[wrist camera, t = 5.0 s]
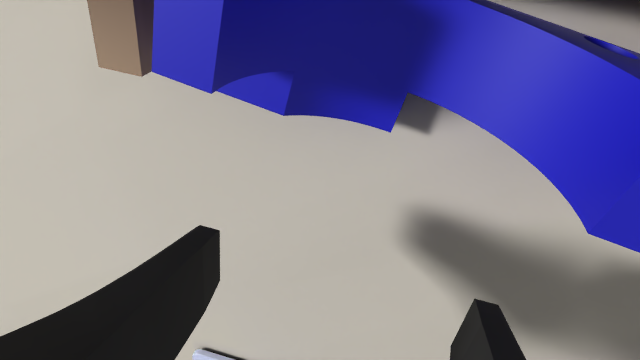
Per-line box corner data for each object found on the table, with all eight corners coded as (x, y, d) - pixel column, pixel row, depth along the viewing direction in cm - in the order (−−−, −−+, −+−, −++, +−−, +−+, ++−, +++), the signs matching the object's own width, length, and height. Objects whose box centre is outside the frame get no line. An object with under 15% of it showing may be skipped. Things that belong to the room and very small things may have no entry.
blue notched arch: (242, 59, 15) (149, 126, 10) (264, -79, 13) (156, -75, 8) (552, 172, 15) (608, 299, 10) (640, 53, 12) (776, 145, 7)
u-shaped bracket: (661, 151, 13) (712, 204, 11) (152, 43, 16) (98, 66, 13) (807, -62, 10) (928, -55, 8) (132, -161, 12) (55, -180, 10)
